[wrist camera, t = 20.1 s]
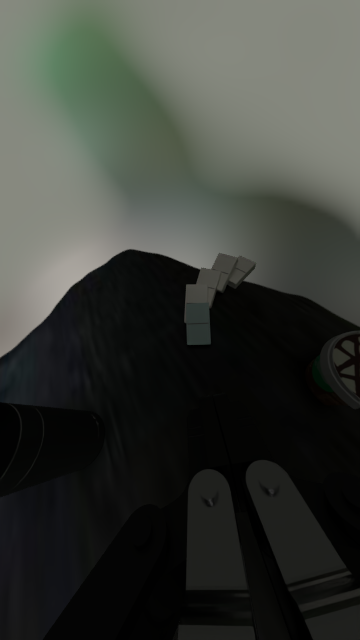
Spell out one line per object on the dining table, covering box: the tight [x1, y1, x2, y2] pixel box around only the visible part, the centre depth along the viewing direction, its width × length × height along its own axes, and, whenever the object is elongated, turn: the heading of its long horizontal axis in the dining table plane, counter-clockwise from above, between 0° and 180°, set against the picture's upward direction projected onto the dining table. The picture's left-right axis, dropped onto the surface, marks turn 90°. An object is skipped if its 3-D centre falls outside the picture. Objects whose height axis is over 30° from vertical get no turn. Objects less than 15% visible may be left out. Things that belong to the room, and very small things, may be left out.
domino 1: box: [196, 268, 222, 308], centre depth 43 cm, size 2×5×9 cm
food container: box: [305, 331, 360, 409], centre depth 28 cm, size 12×6×10 cm, turn 138°
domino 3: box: [186, 302, 211, 345], centre depth 39 cm, size 2×5×9 cm
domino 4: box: [211, 253, 238, 293], centre depth 45 cm, size 2×5×9 cm
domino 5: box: [227, 256, 256, 289], centre depth 47 cm, size 2×5×9 cm
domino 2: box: [184, 285, 208, 323], centre depth 41 cm, size 2×5×9 cm
